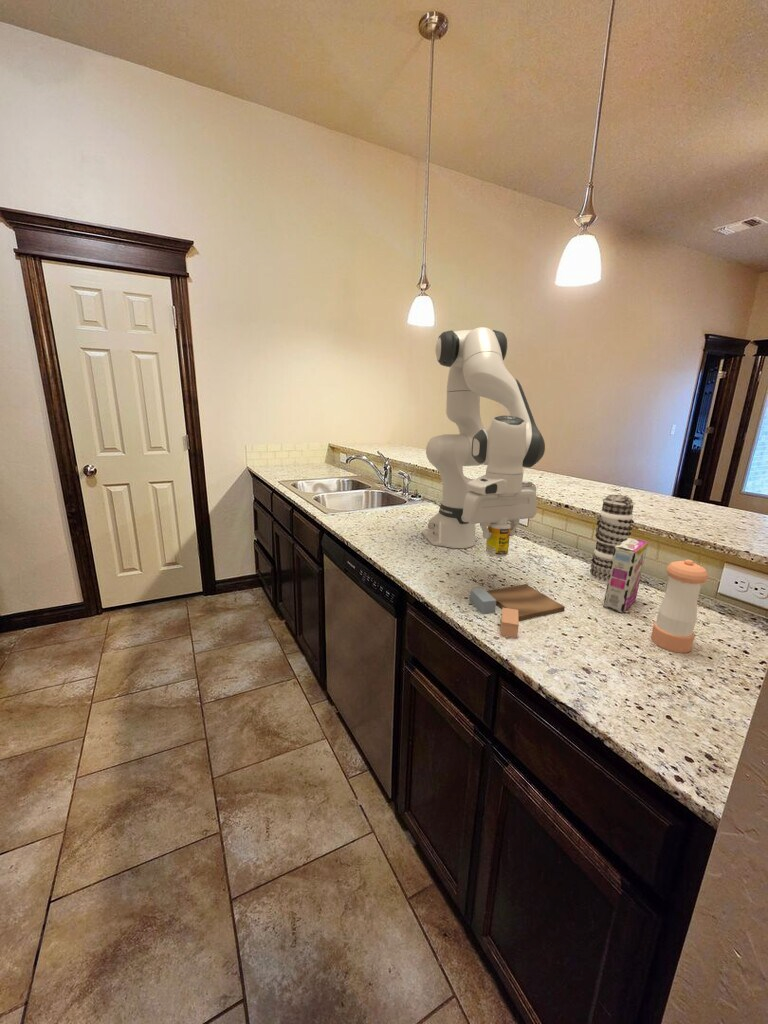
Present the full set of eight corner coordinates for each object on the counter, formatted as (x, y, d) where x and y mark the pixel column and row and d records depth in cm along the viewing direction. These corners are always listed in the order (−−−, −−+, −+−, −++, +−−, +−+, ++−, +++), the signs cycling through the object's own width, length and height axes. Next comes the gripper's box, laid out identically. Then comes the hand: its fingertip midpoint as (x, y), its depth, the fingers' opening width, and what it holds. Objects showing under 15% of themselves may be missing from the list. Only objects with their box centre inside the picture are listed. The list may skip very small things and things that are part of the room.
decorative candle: (622, 576, 123) (637, 495, 117) (623, 588, 116) (639, 501, 109) (588, 570, 128) (601, 491, 121) (587, 580, 120) (600, 497, 113)
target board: (483, 595, 109) (483, 591, 109) (525, 587, 114) (525, 583, 114) (518, 621, 97) (519, 616, 96) (564, 611, 102) (564, 606, 101)
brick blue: (469, 601, 106) (470, 589, 105) (481, 600, 107) (482, 587, 106) (482, 614, 99) (483, 601, 99) (495, 613, 100) (496, 600, 99)
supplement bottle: (497, 559, 102) (501, 519, 100) (481, 552, 107) (484, 514, 104) (512, 555, 105) (516, 516, 103) (495, 548, 110) (499, 511, 107)
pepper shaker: (683, 657, 84) (704, 569, 79) (644, 640, 90) (662, 558, 85) (696, 645, 88) (717, 562, 83) (659, 630, 94) (676, 551, 89)
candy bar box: (624, 614, 101) (636, 551, 97) (602, 607, 104) (613, 546, 100) (637, 600, 108) (649, 541, 104) (616, 594, 112) (627, 536, 108)
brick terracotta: (501, 620, 97) (502, 607, 96) (516, 623, 96) (518, 609, 95) (500, 636, 90) (501, 622, 89) (516, 639, 89) (518, 624, 89)
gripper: (528, 479, 108) (522, 529, 111) (461, 483, 101) (457, 537, 104) (545, 483, 102) (539, 536, 106) (476, 488, 95) (471, 544, 98)
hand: (498, 537), depth 105 cm, fingers closed on supplement bottle, 5 cm apart
